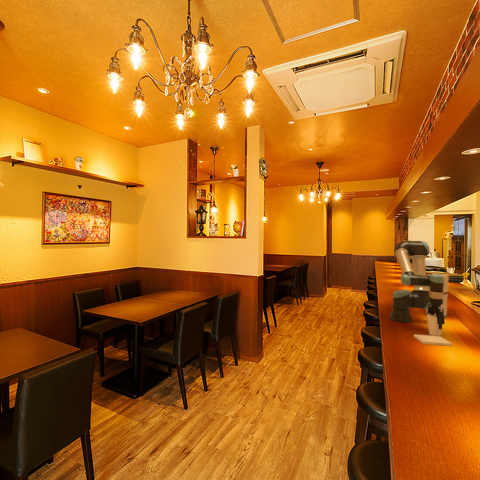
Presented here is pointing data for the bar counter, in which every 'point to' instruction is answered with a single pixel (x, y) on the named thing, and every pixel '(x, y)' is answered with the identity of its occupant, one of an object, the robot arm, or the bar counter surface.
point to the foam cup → (432, 325)
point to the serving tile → (432, 340)
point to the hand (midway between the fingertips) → (434, 331)
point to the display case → (445, 294)
